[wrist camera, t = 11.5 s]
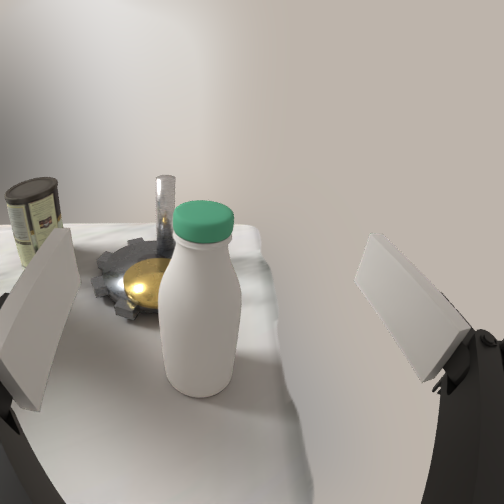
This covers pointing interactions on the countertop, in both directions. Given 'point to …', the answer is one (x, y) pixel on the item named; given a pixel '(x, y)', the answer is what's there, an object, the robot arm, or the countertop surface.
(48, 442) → the countertop surface
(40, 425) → the countertop surface
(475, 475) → the robot arm
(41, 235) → the coffee can
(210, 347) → the milk bottle
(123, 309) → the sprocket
